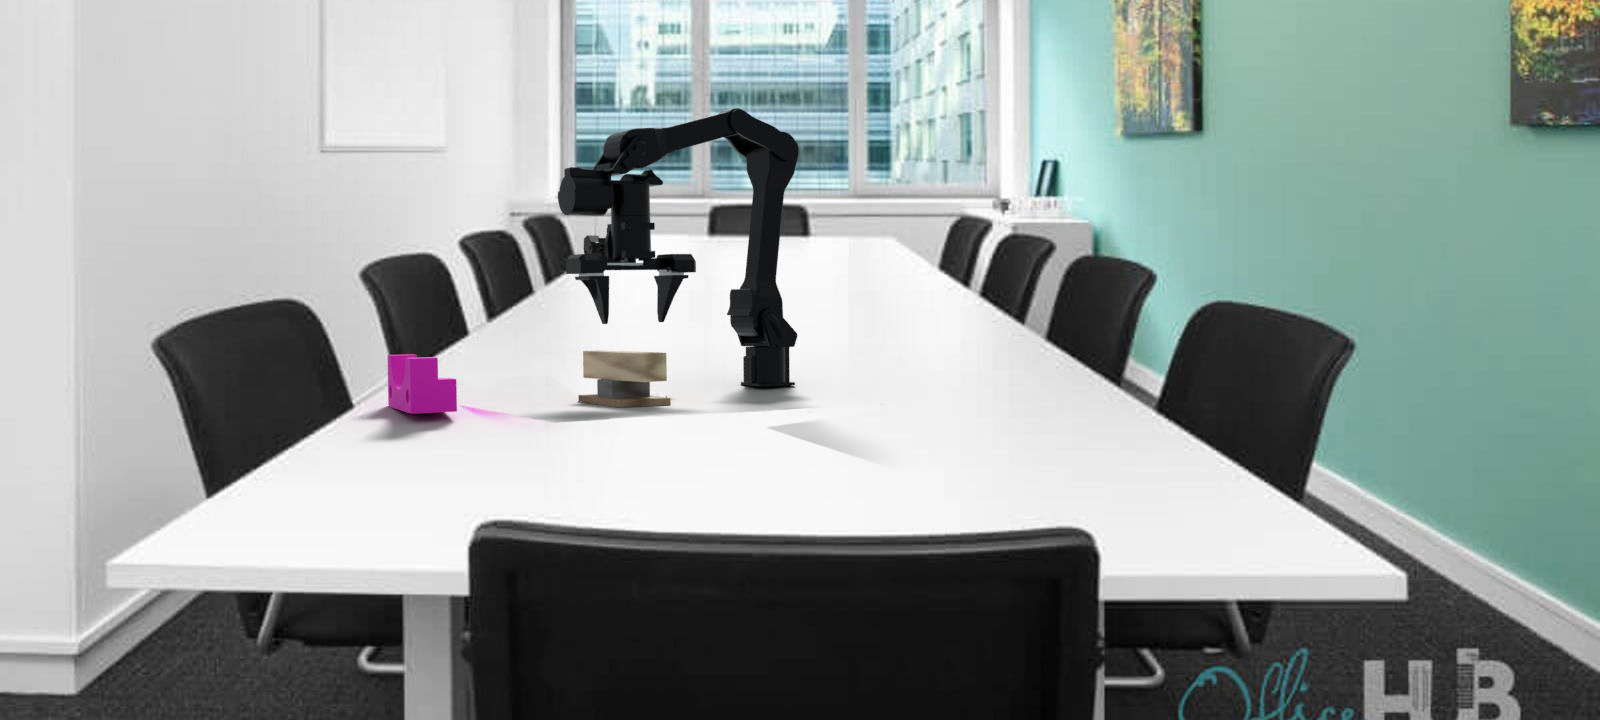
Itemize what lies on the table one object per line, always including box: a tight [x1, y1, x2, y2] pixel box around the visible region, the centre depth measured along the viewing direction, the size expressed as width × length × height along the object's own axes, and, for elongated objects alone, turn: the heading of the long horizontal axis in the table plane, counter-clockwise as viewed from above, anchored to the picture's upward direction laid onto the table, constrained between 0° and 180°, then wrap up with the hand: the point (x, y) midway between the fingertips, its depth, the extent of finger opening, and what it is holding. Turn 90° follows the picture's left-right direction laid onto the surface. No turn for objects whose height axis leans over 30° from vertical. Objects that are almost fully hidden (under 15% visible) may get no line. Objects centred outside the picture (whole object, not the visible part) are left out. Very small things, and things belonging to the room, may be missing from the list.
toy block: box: [386, 353, 458, 414], centre depth 191 cm, size 15×6×8 cm, turn 28°
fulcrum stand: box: [578, 379, 672, 409], centre depth 196 cm, size 8×14×4 cm, turn 33°
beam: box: [582, 349, 668, 383], centre depth 196 cm, size 4×16×4 cm, turn 40°
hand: (633, 323), depth 198 cm, fingers open, 9 cm apart
